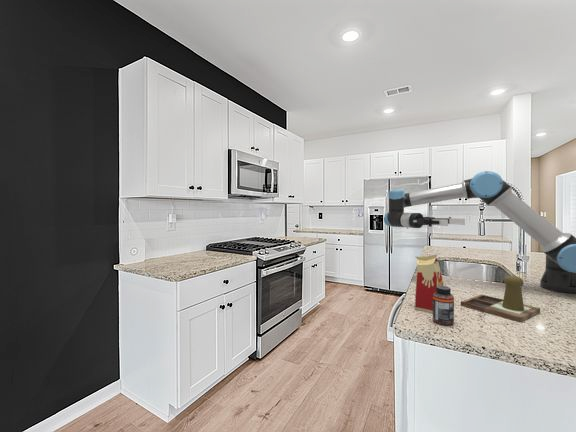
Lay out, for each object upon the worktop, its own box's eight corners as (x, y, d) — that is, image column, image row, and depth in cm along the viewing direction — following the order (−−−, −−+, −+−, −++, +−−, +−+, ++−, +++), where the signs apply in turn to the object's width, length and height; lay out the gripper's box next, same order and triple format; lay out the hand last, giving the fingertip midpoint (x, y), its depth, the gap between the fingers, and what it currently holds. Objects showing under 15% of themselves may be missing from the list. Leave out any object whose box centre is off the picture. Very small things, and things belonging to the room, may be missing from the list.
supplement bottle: (435, 317, 96) (435, 283, 96) (455, 321, 92) (455, 286, 92) (430, 322, 92) (431, 287, 91) (451, 327, 88) (452, 290, 87)
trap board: (481, 298, 116) (481, 294, 116) (540, 312, 100) (540, 307, 100) (460, 305, 107) (460, 301, 107) (521, 322, 91) (521, 317, 91)
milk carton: (445, 307, 105) (446, 253, 104) (438, 314, 98) (438, 256, 98) (419, 302, 111) (420, 250, 111) (410, 308, 104) (411, 253, 104)
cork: (519, 305, 102) (520, 275, 101) (527, 311, 96) (528, 279, 95) (499, 304, 104) (500, 273, 103) (505, 309, 98) (506, 277, 98)
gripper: (427, 226, 151) (470, 229, 133) (396, 228, 137) (439, 232, 119) (427, 212, 150) (470, 213, 132) (396, 213, 137) (440, 214, 119)
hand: (456, 222), depth 126 cm, fingers open, 13 cm apart
